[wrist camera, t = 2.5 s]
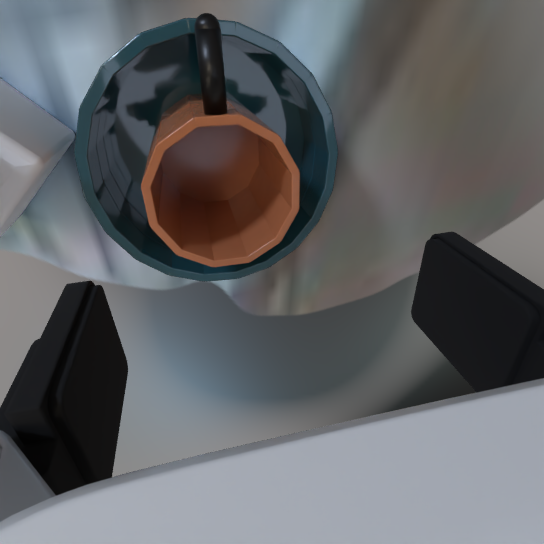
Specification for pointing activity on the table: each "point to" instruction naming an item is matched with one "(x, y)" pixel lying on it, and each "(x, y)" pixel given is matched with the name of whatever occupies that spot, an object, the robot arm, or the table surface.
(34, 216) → the table surface
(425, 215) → the table surface
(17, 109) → the medicine bottle
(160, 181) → the orange mug
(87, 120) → the dark teal bowl
